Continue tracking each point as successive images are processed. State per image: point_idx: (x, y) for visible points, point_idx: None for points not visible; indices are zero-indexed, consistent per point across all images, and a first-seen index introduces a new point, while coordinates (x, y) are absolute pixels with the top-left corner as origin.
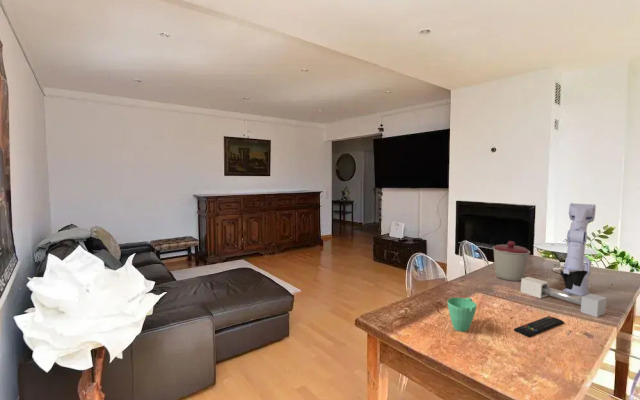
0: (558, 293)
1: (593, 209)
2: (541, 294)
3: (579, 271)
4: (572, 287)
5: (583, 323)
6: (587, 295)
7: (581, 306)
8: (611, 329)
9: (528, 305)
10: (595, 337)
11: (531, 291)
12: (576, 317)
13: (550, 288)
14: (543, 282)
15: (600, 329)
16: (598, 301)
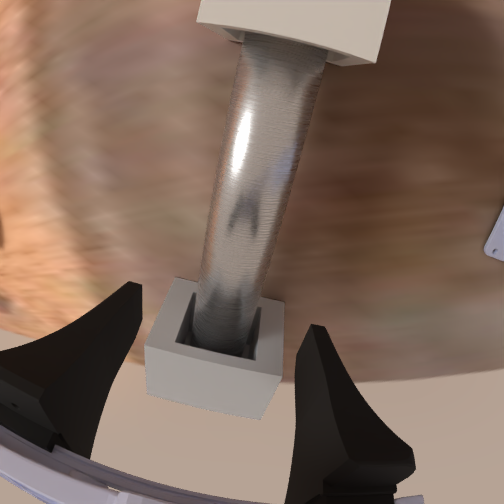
0: (217, 177)
1: None
2: (236, 38)
3: (302, 497)
4: (133, 337)
5: (54, 293)
6: (205, 367)
7: (166, 299)
8: None
9: (31, 63)
10: (6, 317)
11: None
12: (84, 269)
13: (255, 102)
14: (306, 17)
15: None
16: (152, 393)
